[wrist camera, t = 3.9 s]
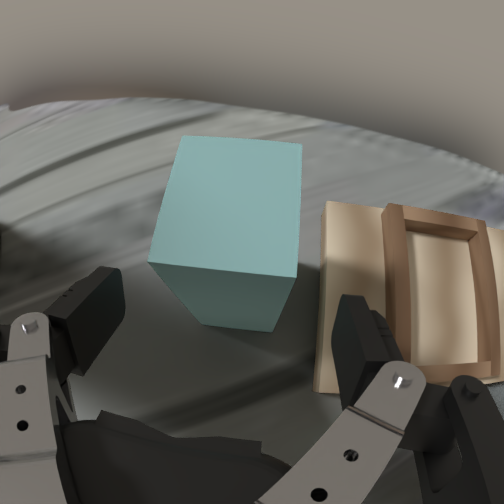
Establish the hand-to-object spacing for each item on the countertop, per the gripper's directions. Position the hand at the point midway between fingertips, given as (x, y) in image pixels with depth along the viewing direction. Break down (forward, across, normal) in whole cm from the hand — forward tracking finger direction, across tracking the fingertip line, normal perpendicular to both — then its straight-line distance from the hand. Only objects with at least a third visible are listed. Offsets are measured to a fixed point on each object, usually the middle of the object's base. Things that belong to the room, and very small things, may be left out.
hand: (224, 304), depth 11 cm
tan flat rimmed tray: (+8, -13, +4) cm, 16 cm away
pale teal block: (+8, 0, +4) cm, 9 cm away
